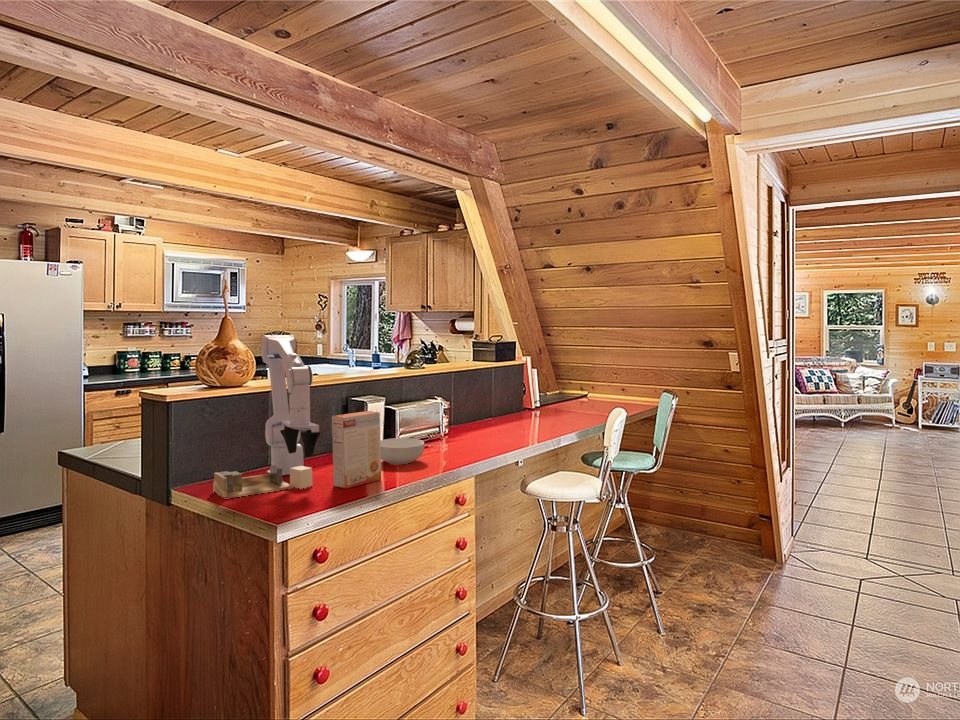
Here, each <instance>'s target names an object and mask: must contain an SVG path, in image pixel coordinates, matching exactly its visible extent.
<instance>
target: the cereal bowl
mask: <svg viewBox="0 0 960 720" xmlns="http://www.w3.org/2000/svg"><path fill="white" fill-rule="evenodd" d="M380 447H381V461H384V462H387V463H388V464H389V463H390V464H389V465H392V464H406V465H408V464H407V463H410V464H411V463H412V462H415V461H417V460H418V459H420V458H421V456H422V455H423V454H424V451H425V441H424V440H421V439H418V438H411V437H409V438H408V437H397V438H395V437H393V438H386V439H380Z"/></svg>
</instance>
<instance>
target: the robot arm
mask: <svg viewBox="0 0 960 720" xmlns="http://www.w3.org/2000/svg"><path fill="white" fill-rule="evenodd" d="M296 344H297V343H296V338H295V336H294V335H293V334H288V335H287V334H286V335H285V334H284V335H282V334H281V335H280V334H279V335H278V334H277V335H276V334H275V335H266V334H263V336H262V337H261V339H260V351H261V353H260V354H261V359H262V363H265V364H266V365H267V366H268V370H269V379H270V381H269V382H270V388H271V389H270V391H271V400H272V411H273V412H272V413H273V415H272V416H271V417H269V419H267V420H266V421H265V426H264V427H265V429H264V430H265V431H264V435H265V436H264V437H265V441H266V444H267V445H268V446H270V458H271V459H270V462H271V465H270V466H277V467H280V468H282V476H287V475H288V476H290V468H293V467H297V466H304V465H305V464H304V455H305V457H307V458H308V457H311V456H313V455H314V450H315V446H316V444H317V441H318V439H319V437H320V435H321V431H320V424H316V423H313V422H311V398H310V397H311V392H310V391H311V390H310V389H311V388H310V387H311V386H312V384H313V370H312V367H311V366H310V365H305V363H304V362H303V360H302V359H301V357H300V356H299V354H297V353H296V347H297V345H296ZM288 394H289V396H288ZM288 398H289V399H288ZM288 400H289V403H288ZM301 431H303V432H301ZM301 438H302V442H303V443H302V444H303V446H302V444H300V443H299V441H300V439H301ZM303 448H304V449H303ZM266 473H267V474H270V469H269V470H266Z"/></svg>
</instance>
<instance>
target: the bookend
mask: <svg viewBox="0 0 960 720" xmlns="http://www.w3.org/2000/svg"><path fill="white" fill-rule="evenodd" d="M269 470H270V473H269V474H270V481H271V482H273V483H275V484H282V481H283V475H282V468H280V467H277V466H271V465H270V466H269Z"/></svg>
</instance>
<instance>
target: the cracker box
mask: <svg viewBox="0 0 960 720" xmlns="http://www.w3.org/2000/svg"><path fill="white" fill-rule="evenodd" d="M380 415H381V413H380V412H379V411H372V410H367V411H366V410H364V411H359V412H357V411H356V412H352V413H344V414H338V415H337V414H336V415H332V416H331V436H332V439H331V441H332V445H331V446H332V467H333V468H332V472H333V477H332V478H333V487H336V488H341V489H345V490H347V489H350V488H355V487H357V486H362V485H366V484H369V483H373V482H377V481H381V480H382V460H381V447H380V440H381V418H380V417H381V416H380Z"/></svg>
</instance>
